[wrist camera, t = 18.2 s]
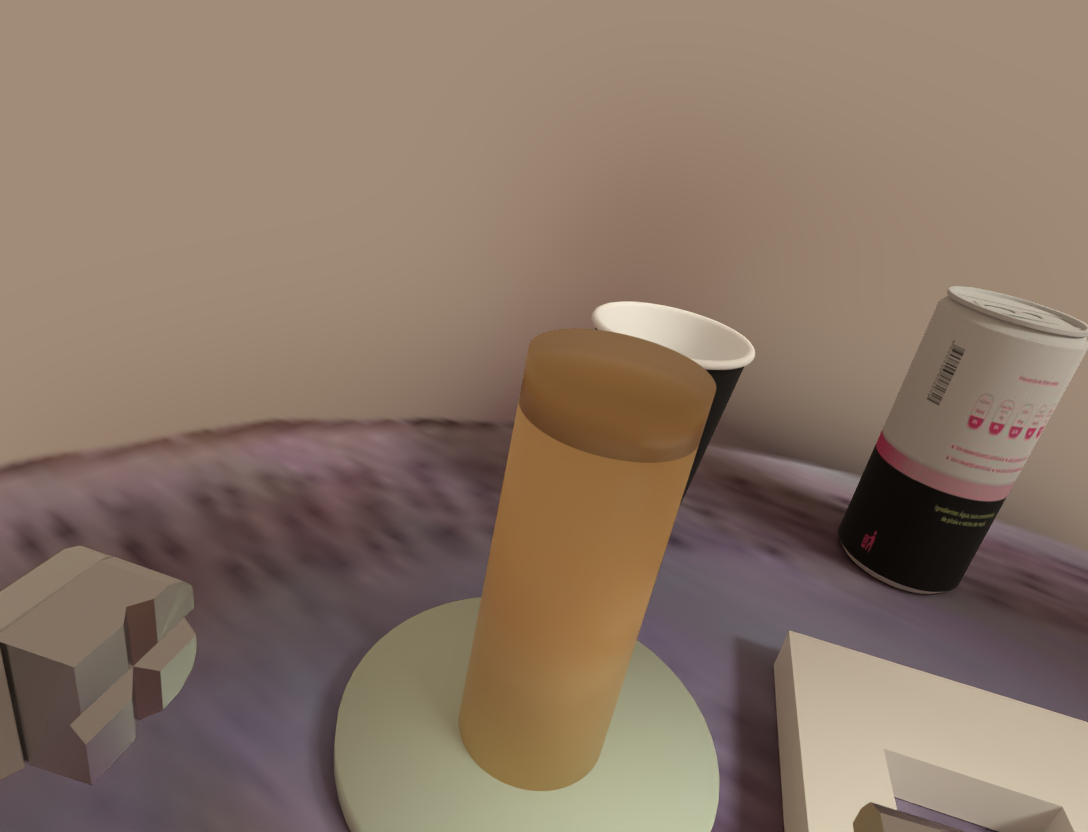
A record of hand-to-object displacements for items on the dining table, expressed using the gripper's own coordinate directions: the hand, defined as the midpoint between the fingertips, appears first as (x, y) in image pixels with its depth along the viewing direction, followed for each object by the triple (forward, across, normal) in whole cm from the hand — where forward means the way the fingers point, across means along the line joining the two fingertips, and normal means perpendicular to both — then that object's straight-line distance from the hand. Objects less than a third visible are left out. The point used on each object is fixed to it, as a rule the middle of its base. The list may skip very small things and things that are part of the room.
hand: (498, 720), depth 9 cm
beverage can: (+32, -16, +15) cm, 39 cm away
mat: (+12, 0, +14) cm, 19 cm away
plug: (+12, 0, +13) cm, 18 cm away
